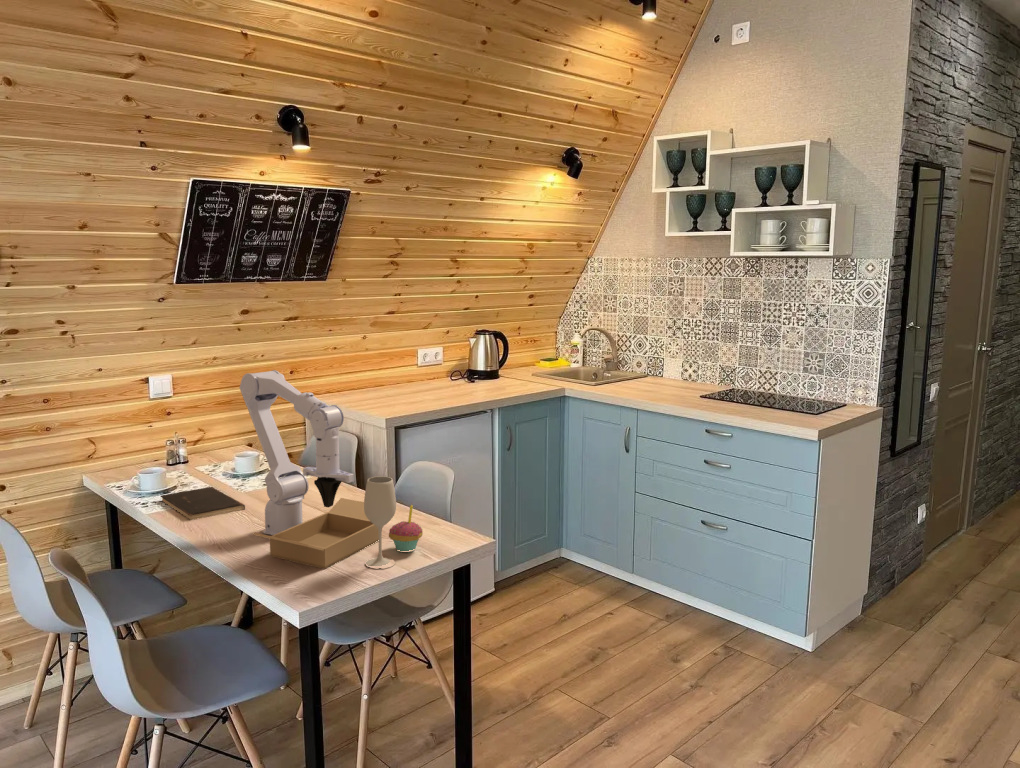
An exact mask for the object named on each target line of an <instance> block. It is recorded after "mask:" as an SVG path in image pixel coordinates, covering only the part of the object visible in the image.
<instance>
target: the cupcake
mask: <svg viewBox="0 0 1020 768" xmlns="http://www.w3.org/2000/svg"><path fill="white" fill-rule="evenodd" d="M413 507H414V506H413V503H411V505H410V506H409V513H408V521H404V520H403V521H400V522H397V523H395V524H394V525H392V526H391V527H390V528H389V532H388V538H389V539H390V540H392V541H393V543H394V546H395V549H397V550H400V551H409V550H413V549H415V550H416V548H417V544H418V542H419V540H420V539H421V538H422V537H423V532H424V531H423V528H422V527H421V525H420V524H418V523H416V522H414V521H412V516H413V515H412V514H413ZM397 550H396V551H397Z"/></svg>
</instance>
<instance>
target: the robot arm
mask: <svg viewBox="0 0 1020 768" xmlns="http://www.w3.org/2000/svg"><path fill="white" fill-rule="evenodd" d="M240 381H241V382H240V385H239V391H240V393H241V395H242V398H243V400H244V403H245V406H246V407H247V411H248V413H249V416H250V419H251V421H252V423H253V427H254V430H255V432H256V434H257V438H258V440H259V443H260V445H261V447H262V450H263V453H264V456H265V459H266V461H267V464H268V467H269V469H270V470H269V471H268V473H267V474H266V476H265V477H264V482H265V484H266V493H267V497H268V498H269V500H267V503H266V504H265V509H264V526H265V527H264V528H265V530H262V533H263V534H264V535H268V536H272V535H275V534H277V533H279V532H282V531H284V530H287V529H289V528H291V527H294V526H296V525H298V524H301V523H303V522H304V521H303V500H305V495H307V493H308V492H309V489H310V487H309V481H308V478H307V477H308V476H311V477H315V478H316V479H315V480H314V485H315V487H316V488H317V490H318V492H319V495H320V496H321V497H320V498H321V500H322V504H323V507H324V508H331V507H333V506H334V503H335V498H336V495H337V493H338V489H339V487H340V486H341V484H342V482H345V483H346V484H350V483H352V482H354V480H355V479H354V477H355V476H354V473H351V472H347V471H345V470H343V469H340V428H341V426H342V425H343V423H344V419H345V418H344V412H343V410H342V409H341V408H340V407H339V406H338V405H337V404H332V405H329V404H327V403H326V402H325V401H322V400H320V399H319V398H318V397H316V396H315V394H314V393H313V392H301V391H300V390H298V388H296V387H294V386H293V385H292V384H291V383H290V382H288V381H287V380H286V378H285V375H284V374H283V373H281V372H279V371H278V370H275V369H273V370H269V371H261V372H253V373H252V372H249V373H248V372H247V373H245V374H244V375H242V378H241V380H240ZM278 397H280V398H282V399H283V400H285V401H287V402H289V403H291V404H293V409H294V411H295V412H296V413H298V414H299V415H301V416H302V417H303V418H305V419H306V420H308V421H309V424H310V426H311V428H312V430H313V436H314V438H315V461H316V462H315V465H316V467H315V466H306V467H303V468H302V469H301V467H300V466H299V465H297V464H295V463H293V462H291V460H290V458H289V455H288V452H287V449H286V447H285V445H284V442H283V439H282V437H281V435H280V434H281V433H280V432H279V431H280V430H279V429H278V426H277V423H276V422H275V419H274V416H273V413H272V411H271V408H272V407H271V406H272V405H273V404H274V403H275V402H276V400H277V398H278Z"/></svg>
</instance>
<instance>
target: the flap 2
mask: <svg viewBox="0 0 1020 768" xmlns="http://www.w3.org/2000/svg"><path fill="white" fill-rule="evenodd" d="M328 512H330V513H335V514H340V515H345V516H350V517H355V518H360V519H365V520H369V519H368V518H367V517H366V515H365V512H364V501H360V500H355V499H350V498H349V499H348V498H343V497H340V498H339V499H338V501H337V502H336V503H335V504H333V506H332V508H331V509H329V511H328Z"/></svg>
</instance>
